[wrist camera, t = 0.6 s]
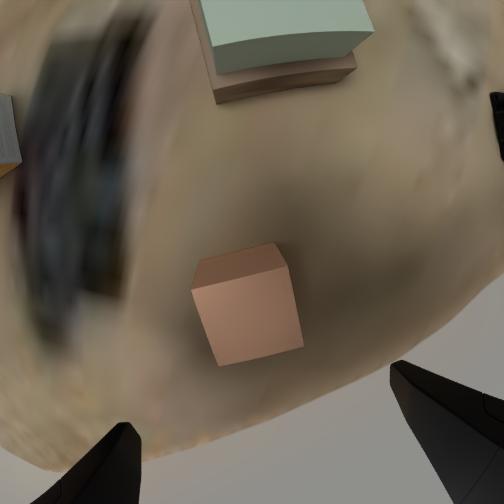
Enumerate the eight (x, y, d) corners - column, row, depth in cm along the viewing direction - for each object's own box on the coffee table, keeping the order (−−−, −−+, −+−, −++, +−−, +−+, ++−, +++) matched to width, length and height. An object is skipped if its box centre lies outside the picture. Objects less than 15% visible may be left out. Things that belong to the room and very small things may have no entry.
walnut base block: (302, -8, 15) (315, -37, 11) (334, 84, 17) (357, 67, 13) (191, 8, 15) (184, -21, 11) (216, 105, 17) (213, 89, 13)
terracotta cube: (274, 241, 20) (287, 265, 15) (288, 308, 21) (304, 346, 16) (200, 260, 20) (190, 289, 15) (220, 324, 21) (218, 366, 16)
